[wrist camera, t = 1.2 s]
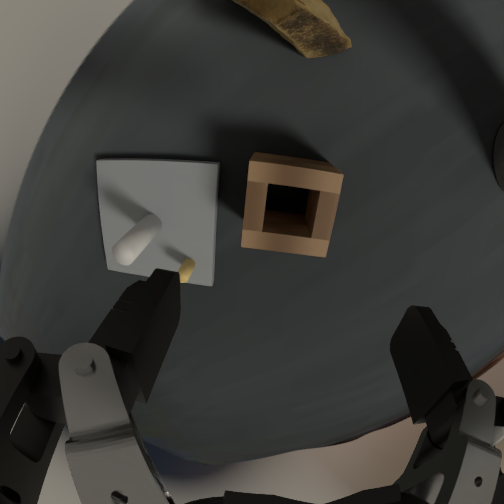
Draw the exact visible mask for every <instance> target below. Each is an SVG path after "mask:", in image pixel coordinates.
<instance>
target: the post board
mask: <svg viewBox="0 0 504 504" xmlns="http://www.w3.org/2000/svg"><path fill="white" fill-rule="evenodd" d="M96 163H97V183H98V197H99V208H100V218H101V226H102V234H103V241H104V248H105V254H106V261H107V266H108V270H114V271H119V272H125V273H131V274H136V275H142V276H148V277H150V275H151V274H152V273H153V271H154V270H155V269H156V268H159V269H165V270H170V271H176V272H179V274H180V282H181V283H193V284H199V285H206V286H212V285H213V282H214V265H215V241H216V221H217V204H218V188H219V174H220V162H207V161H193V160H173V159H140V158H108V159H99V160H97V161H96Z"/></svg>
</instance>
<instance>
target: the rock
mask: <svg viewBox="0 0 504 504" xmlns="http://www.w3.org/2000/svg"><path fill="white" fill-rule="evenodd" d="M231 1H233V2H235V3H237V4H239V5H240V6H242V7H244V8H245V9H247V10H248V11H250V12H251V13H252V14H254V15H256V16H257V17H259V18H260V19H261V20H263V21H264V22H266V23H267V24H268V25H269V26H270V27H271V28H272V29H273V30H275V31H276V32H278V33H279V34H280V35H281V36H282V37H283V38H284V39H286V40H287V41H288V42H289V43H291V44H292V45H293V46H294V47H295V48H296V50H297V51H298V52H299V53H300V54H302V55H303V56H305V57H306V58H315V57H323V56H328V55H334V54H337V53H340V52H342V51H344V50H345V49H347V48H351V47H352V46H351V40H350V38H349V37H348V36H346V35H345V33H344V32H343V30H342V29H341V28H340V26H339V23H338V21H337V19H336V18H335V17H334V15H333V14H332V12H331V10H330V9H329V7H328V6H327V5H326V4H325V3H324V2H323V1H322V0H231Z"/></svg>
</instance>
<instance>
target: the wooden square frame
mask: <svg viewBox="0 0 504 504" xmlns="http://www.w3.org/2000/svg"><path fill="white" fill-rule="evenodd" d="M342 180H343V174H342V173H341V172H340V171H339V170H338V169H336V168H335V167H334V166H333V165H332V164H330V163H328V162H322V161H316V160H310V159H304V158H297V157H291V156H283V155H276V154H268V153H259V152H254V154H253V155H252V157H251V159H250V161H249V170H248V180H247V190H246V200H245V211H244V221H243V231H242V242H241V247H247V248H255V249H263V250H271V251H279V252H287V253H295V254H303V255H311V256H319V257H326V253H327V249H328V245H329V241H330V237H331V232H332V228H333V224H334V219H335V215H336V210H337V205H338V200H339V196H340V191H341V186H342ZM268 183H270V184H278V185H285V186H292V187H299V188H306V189H309V192H308V198H307V204H306V210H305V215H302V214H295V213H287V212H280V211H272V210H265V205H266V196H267V188H268Z"/></svg>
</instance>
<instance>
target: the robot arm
mask: <svg viewBox="0 0 504 504" xmlns="http://www.w3.org/2000/svg"><path fill="white" fill-rule="evenodd" d="M493 156H494V170H495V174H496V178H497V181H498V183H499V186H500V187H501V189H502V190H503V191H504V124H503V125H502V126H501V127H500V129H499V131H498V134H497V136H496V140H495V144H494V153H493ZM180 310H181V306H180V274H179V272H176V271H170V270H165V269H159V268H156V269H155V270H154V271H153V273H152V274H151V275H150V277H149V278H148V280H147V281H141V280H139V281H137V282H135V283H134V284H132V285H131V286H129V287H127V288H126V290H125V291H124V292H123V294H122V295H121V297H120V298H119V300H118V301H117V302H116V303H115V305H114V306H113V309H111V310H110V312H109V313H108V315H107V316H106V317H105V319H104V320H103V322H102V323H101V325H100V326H99V328H98V329H97V331H96V332H95V333H94V335H93V336H92V338H91V339H90V341H89V342H88V343H80V344H76V345H74V346H72V347H70V348H69V349H67V350H66V351H65V352H64V353H63V355H57V354H46V353H37V352H36V350H35V348H34V346H33V344H32V342H31V341H30V340H28V339H27V338H24V337H13V338H10V339H8V340H6V341H5V342H4V343H2V344H1V346H0V504H37V502H38V499H39V495H40V492H41V489H42V485H43V482H44V479H45V476H46V473H47V470H48V467H49V464H50V462H51V459H52V456H53V453H54V451H55V448H56V446H57V443H58V440H59V438H60V435H61V433H62V430H63V428H64V426H65V424H67V425H68V429H69V434H70V439H69V440H68V441H66V443H65V452H66V457H67V461H68V464H69V468H70V471H71V475H72V477H73V481H74V484H75V487H76V489H77V492H78V495H79V498H80V500H81V503H82V504H176V503H175V502H174V500H173V498H172V496H171V495H170V493H169V491H168V489H167V488H166V486H165V484H164V482H163V480H162V479H161V477H160V475H159V473H158V471H157V470H156V468H155V466H154V464H153V462H152V460H151V458H150V456H149V454H148V451H147V449H146V447H145V445H144V443H143V440H142V438H141V436H140V433H139V431H138V428H137V426H136V424H135V421H134V418H133V416H132V413H131V410H132V408H133V405H134V403H135V400H136V401H139V402H142V403H145V404H147V401H148V399H149V396H150V393H151V391H152V388H153V386H154V383H155V380H156V378H157V375H158V373H159V370H160V368H161V365H162V363H163V360H164V358H165V355H166V353H167V351H168V348H169V346H170V343H171V341H172V338H173V336H174V334H175V331H176V329H177V326H178V323H179V319H180ZM390 352H391V355H392V358H393V361H394V364H395V367H396V370H397V373H398V376H399V379H400V382H401V385H402V388H403V391H404V394H405V397H406V401H407V404H408V407H409V411H410V414H411V418H412V421H413V424H420V423H426V424H427V427H425V428H424V429H423V431H422V433H421V435H420V438H419V440H418V442H417V445H416V447H415V450H414V452H413V454H412V456H411V458H410V461H409V463H408V465H407V467H406V469H405V471H404V473H403V474H402V475H401V476H400V478H399V479H398V480H396V482H394V484H393V485H390V486H385V487H380V488H374V489H368V490H363V491H360V492H358V493H355V494H352V495H350V496H347V497H344V498H341V499H338V500H336V501H332V502H329V503H326V504H504V474H503V473H502V471H501V468H500V465H501V459H502V453H501V451H500V450H499V449H497V448H495V444H497V443H498V442H499V441H500V440H502V439H503V438H504V398H503V397H498V396H495V394H494V392H493V390H492V389H491V387H490V386H489V385H488V384H487V383H485V382H484V381H482V380H478V379H475V380H473V379H472V377H471V375H470V373H469V371H468V369H467V367H466V365H465V363H464V361H463V359H462V357H461V355H460V354H459V352H458V351H457V348H456V346H455V344H454V343H452V339H451V337H450V336H449V334H448V332H447V330H446V329H445V328H444V327H443V326H442V325H441V324H440V323H439V321H438V320H437V318H436V316H435V315H434V313H433V312H432V310H431V309H430V308H429V307H422V306H410V307H409V308H408V309H407V311H406V312H405V314H404V316H403V318H402V320H401V322H400V324H399V326H398V327H397V329H396V331H395V333H394V334H393V336H392V339H391V342H390ZM23 404H25V405H24V407H23V409H22V411H21V413H20V415H19V417H18V419H17V421H16V424H15V426H14V428H13V430H12V432H11V429H12V427H13V425H14V423H15V420H16V418H17V416H18V414H19V412H20V410H21V408H22V406H23ZM10 432H11V434H10ZM185 504H313V503H307V502H302V501H297V500H293V499H288V498H284V497H280V496H276V495H265V494H252V493H242V492H233V491H225V493H224V496H223V497H211V498H205V499H199V500H196V501H191V502H188V503H185Z"/></svg>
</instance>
